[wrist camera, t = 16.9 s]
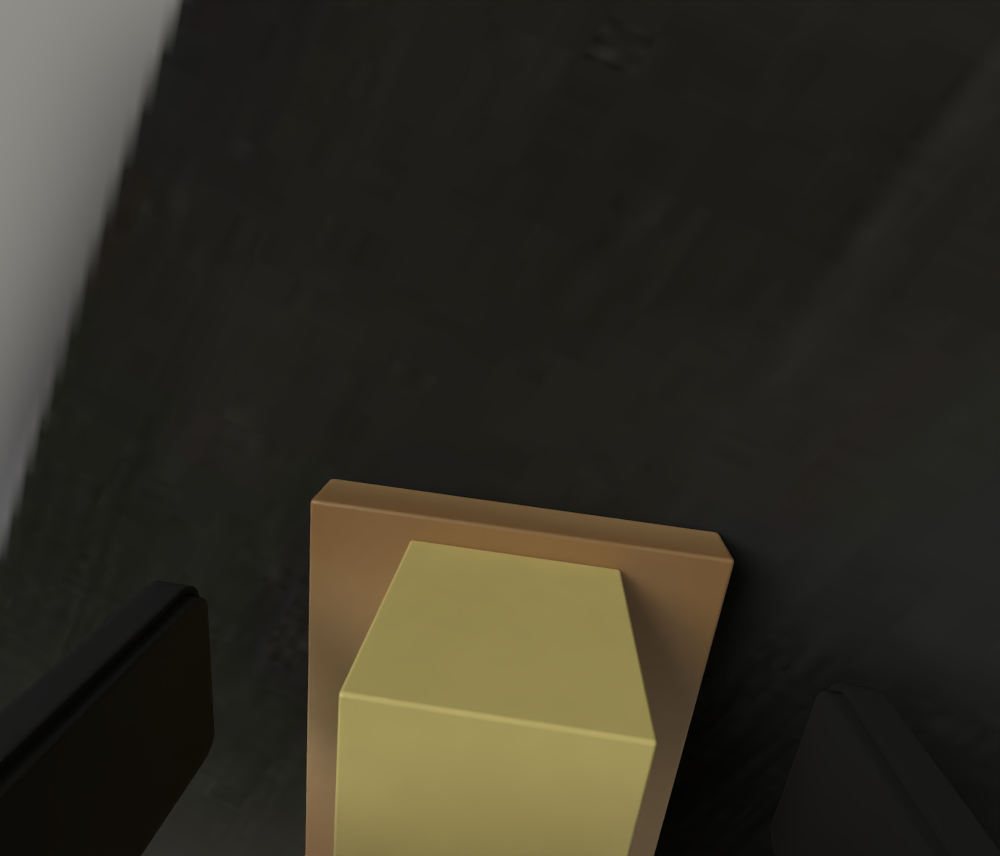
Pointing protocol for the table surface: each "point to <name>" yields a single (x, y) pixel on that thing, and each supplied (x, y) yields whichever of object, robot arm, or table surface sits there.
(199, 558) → the table surface
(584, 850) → the butter
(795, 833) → the robot arm
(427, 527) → the wooden lever base
